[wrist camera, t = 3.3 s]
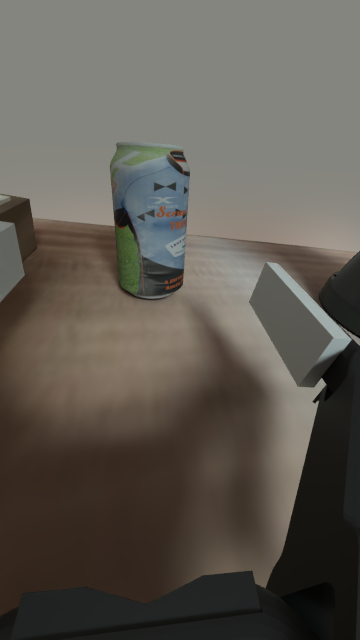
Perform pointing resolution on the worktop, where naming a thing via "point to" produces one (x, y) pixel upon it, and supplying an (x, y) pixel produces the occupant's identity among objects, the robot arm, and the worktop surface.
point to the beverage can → (150, 216)
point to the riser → (19, 221)
